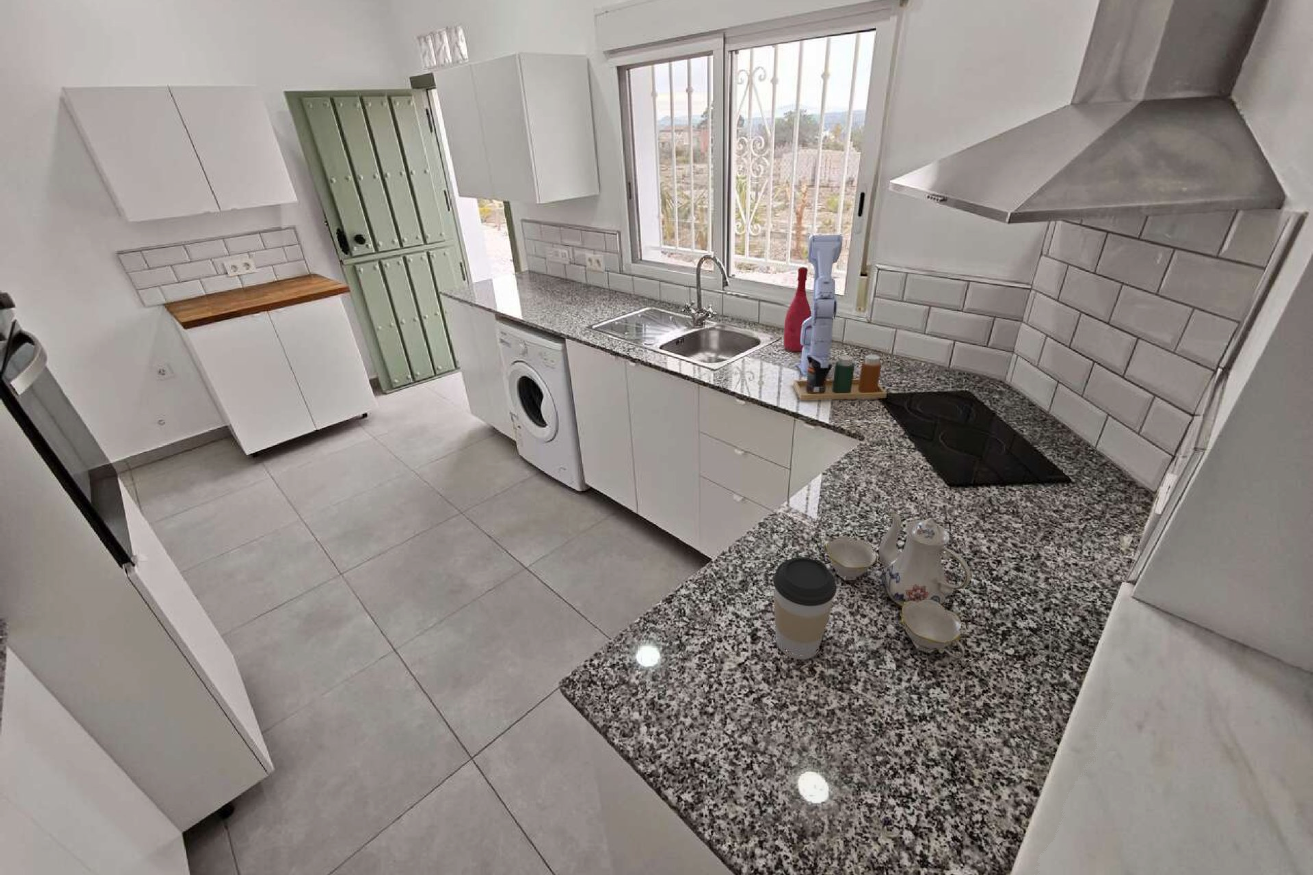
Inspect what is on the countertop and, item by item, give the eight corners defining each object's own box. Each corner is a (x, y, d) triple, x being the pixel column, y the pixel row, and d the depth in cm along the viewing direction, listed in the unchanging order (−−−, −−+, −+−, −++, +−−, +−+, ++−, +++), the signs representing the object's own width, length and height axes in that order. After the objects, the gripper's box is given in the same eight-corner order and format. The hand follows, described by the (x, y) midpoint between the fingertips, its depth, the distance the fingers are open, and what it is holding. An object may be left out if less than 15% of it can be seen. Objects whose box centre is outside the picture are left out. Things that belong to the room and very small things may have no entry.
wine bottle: (782, 343, 210) (787, 264, 196) (807, 344, 209) (815, 264, 195) (783, 352, 202) (790, 270, 188) (810, 352, 200) (819, 270, 186)
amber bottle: (855, 387, 170) (860, 354, 165) (873, 386, 170) (879, 353, 165) (860, 394, 165) (866, 360, 160) (879, 393, 165) (885, 360, 160)
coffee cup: (790, 674, 81) (799, 601, 73) (757, 630, 88) (762, 560, 81) (839, 652, 84) (851, 580, 76) (803, 612, 91) (811, 543, 84)
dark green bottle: (830, 387, 171) (834, 354, 165) (848, 387, 170) (852, 354, 165) (834, 394, 166) (838, 361, 160) (853, 394, 165) (857, 360, 160)
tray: (793, 386, 174) (793, 380, 173) (873, 384, 173) (874, 378, 172) (800, 401, 164) (800, 395, 163) (885, 399, 163) (886, 393, 162)
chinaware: (806, 574, 101) (807, 505, 92) (869, 536, 107) (876, 468, 98) (940, 687, 79) (958, 611, 71) (1010, 632, 85) (1034, 556, 77)
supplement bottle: (820, 397, 165) (824, 362, 159) (802, 392, 168) (805, 358, 163) (828, 390, 169) (832, 356, 163) (810, 386, 172) (813, 352, 167)
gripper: (802, 332, 167) (798, 373, 173) (812, 347, 154) (808, 391, 161) (825, 331, 167) (821, 372, 173) (837, 347, 154) (832, 390, 160)
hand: (816, 381), depth 167 cm, fingers closed on supplement bottle, 6 cm apart
